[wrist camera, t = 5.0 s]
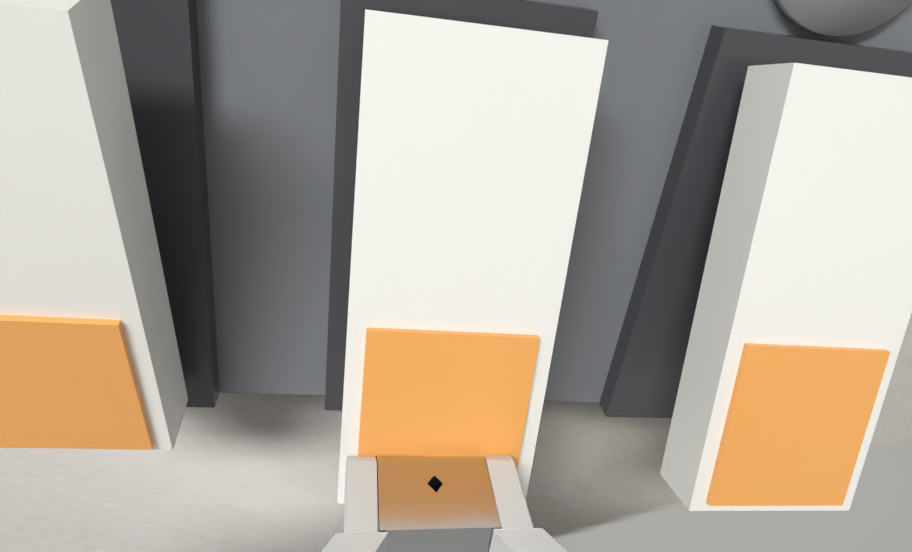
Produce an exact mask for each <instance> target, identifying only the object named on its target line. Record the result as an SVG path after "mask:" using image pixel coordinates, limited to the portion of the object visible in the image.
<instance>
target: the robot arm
mask: <svg viewBox="0 0 912 552" xmlns="http://www.w3.org/2000/svg"><path fill="white" fill-rule="evenodd" d="M320 552H568V551H567V550H566V549H565V548H564V547H563V546H562V545H561V544H560V543H558V542H557V541H556V540H555V539H554V538H553V537H552V536H551V535H550V534H549V533H547V532H546V531H545V530H544V529H543V528H534V526H533V522H532V519H531V516H530V512H529V509H528V506H527V502H526V499H525V496H524V492H523V489H522V486H521V482H520V479H519V476H518V472H517V469H516V465H515V462H514V459H513V458H512V457H511V456H510V455H483V457H482V456H448V457H418V456H377V457H375V456H347V460H346V472H345V492H344V513H343V533H335V534H334V535H333V536H332V537H331V539H330V540H329V541H328V542H327V544H326V545H325V546H324V547H323V549H322V550H321V551H320Z"/></svg>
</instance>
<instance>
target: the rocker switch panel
mask: <svg viewBox="0 0 912 552" xmlns="http://www.w3.org/2000/svg"><path fill="white" fill-rule="evenodd" d="M110 1H111V6H112V11H113V16H114V21H115V26H116V31H117V37H118V42H119V47H120V52H121V57H122V62H123V67H124V73H125V78H126V83H127V88H128V93H129V98H130V103H131V109H132V114H133V119H134V124H135V129H136V134H137V139H138V144H139V150H140V155H141V160H142V165H143V170H144V175H145V180H146V186H147V191H148V196H149V201H150V206H151V211H152V216H153V222H154V227H155V232H156V237H157V242H158V247H159V252H160V258H161V263H162V268H163V273H164V278H165V283H166V288H167V294H168V299H169V304H170V309H171V314H172V319H173V324H174V329H175V335H176V340H177V345H178V350H179V355H180V360H181V365H182V371H183V376H184V381H185V386H186V391H187V396H188V402H187V405H186V407H215V404H216V401H217V398H218V395H219V393H220V392H221V393H259V394H296V395H325V410H342V408H343V390H344V373H345V355H346V338H347V320H348V302H349V285H350V267H351V250H352V232H353V215H354V197H355V180H356V162H357V145H358V127H359V110H360V92H361V74H362V57H363V39H364V22H365V9H367V10H375V11H383V12H391V13H398V14H406V15H414V16H422V17H430V18H438V19H446V20H454V21H461V22H469V23H477V24H485V25H493V26H501V27H509V28H516V29H524V30H532V31H540V32H548V33H556V34H564V35H572V36H579V37H587V38H595V39H603V40H609V41H608V46H607V52H606V57H605V63H604V68H603V74H602V80H601V85H600V91H599V96H598V102H597V107H596V113H595V119H594V124H593V130H592V135H591V141H590V146H589V152H588V157H587V163H586V169H585V174H584V180H583V185H582V191H581V196H580V202H579V208H578V213H577V219H576V224H575V230H574V235H573V241H572V246H571V252H570V258H569V263H568V269H567V274H566V280H565V285H564V291H563V297H562V302H561V308H560V313H559V319H558V324H557V330H556V335H555V341H554V347H553V352H552V358H551V363H550V369H549V374H548V380H547V385H546V391H545V397H544V401H558V402H595V403H600V405H601V407H602V409H603V411H604V413H605V415H606V416H608V417H652V418H672V416H673V411H674V407H675V402H676V397H677V393H678V388H679V383H680V379H681V374H682V370H683V365H684V360H685V356H686V351H687V346H688V342H689V337H690V333H691V328H692V323H693V319H694V314H695V309H696V305H697V300H698V296H699V291H700V286H701V282H702V277H703V273H704V268H705V263H706V259H707V254H708V249H709V245H710V240H711V236H712V231H713V226H714V222H715V217H716V212H717V208H718V203H719V199H720V194H721V189H722V185H723V180H724V175H725V171H726V166H727V162H728V157H729V152H730V148H731V143H732V138H733V134H734V129H735V125H736V120H737V115H738V111H739V106H740V102H741V97H742V92H743V88H744V83H745V78H746V74H747V69H748V66H754V65H768V64H782V63H802V64H809V65H817V66H825V67H833V68H841V69H849V70H856V71H864V72H872V73H880V74H888V75H896V76H904V77H911V78H912V0H110Z"/></svg>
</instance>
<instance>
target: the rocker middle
mask: <svg viewBox="0 0 912 552" xmlns="http://www.w3.org/2000/svg"><path fill="white" fill-rule="evenodd" d="M608 41H609V40H603V39H595V38H587V37H579V36H572V35H564V34H556V33H548V32H540V31H532V30H524V29H516V28H509V27H501V26H493V25H485V24H477V23H469V22H461V21H454V20H446V19H438V18H430V17H422V16H414V15H406V14H398V13H391V12H383V11H375V10H367V9H365V22H364V39H363V57H362V74H361V92H360V110H359V127H358V145H357V162H356V180H355V197H354V215H353V232H352V250H351V267H350V285H349V302H348V320H347V338H346V355H345V373H344V390H343V408H342V425H341V443H340V460H339V478H338V495H337V504H344V492H345V472H346V460H347V456H375V457H377V456H418V457H448V456H482V457H483V455H510V456H511V457H512V458H513V459H514V462H515V465H516V469H517V472H518V476H519V479H520V482H521V486H522V489H523V492H524V496H525V499H526V497H527V491H528V486H529V480H530V474H531V469H532V463H533V458H534V452H535V447H536V441H537V436H538V430H539V424H540V419H541V413H542V408H543V402H544V397H545V391H546V385H547V380H548V374H549V369H550V363H551V358H552V352H553V347H554V341H555V335H556V330H557V324H558V319H559V313H560V308H561V302H562V297H563V291H564V285H565V280H566V274H567V269H568V263H569V258H570V252H571V246H572V241H573V235H574V230H575V224H576V219H577V213H578V208H579V202H580V196H581V191H582V185H583V180H584V174H585V169H586V163H587V157H588V152H589V146H590V141H591V135H592V130H593V124H594V119H595V113H596V107H597V102H598V96H599V91H600V85H601V80H602V74H603V68H604V63H605V57H606V52H607V46H608Z"/></svg>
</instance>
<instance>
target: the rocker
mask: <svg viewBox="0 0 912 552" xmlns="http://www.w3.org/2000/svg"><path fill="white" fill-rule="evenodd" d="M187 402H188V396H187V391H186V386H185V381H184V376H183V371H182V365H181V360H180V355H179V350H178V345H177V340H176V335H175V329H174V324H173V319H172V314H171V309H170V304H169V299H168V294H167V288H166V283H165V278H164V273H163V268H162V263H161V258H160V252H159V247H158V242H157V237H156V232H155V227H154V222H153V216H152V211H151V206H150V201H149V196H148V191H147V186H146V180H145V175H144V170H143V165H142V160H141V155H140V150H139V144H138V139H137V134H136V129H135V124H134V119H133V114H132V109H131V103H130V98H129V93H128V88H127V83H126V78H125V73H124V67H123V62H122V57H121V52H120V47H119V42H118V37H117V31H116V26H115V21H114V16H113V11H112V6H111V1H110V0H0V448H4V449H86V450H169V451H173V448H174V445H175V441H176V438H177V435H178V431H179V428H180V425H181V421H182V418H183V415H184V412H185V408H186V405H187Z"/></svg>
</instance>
